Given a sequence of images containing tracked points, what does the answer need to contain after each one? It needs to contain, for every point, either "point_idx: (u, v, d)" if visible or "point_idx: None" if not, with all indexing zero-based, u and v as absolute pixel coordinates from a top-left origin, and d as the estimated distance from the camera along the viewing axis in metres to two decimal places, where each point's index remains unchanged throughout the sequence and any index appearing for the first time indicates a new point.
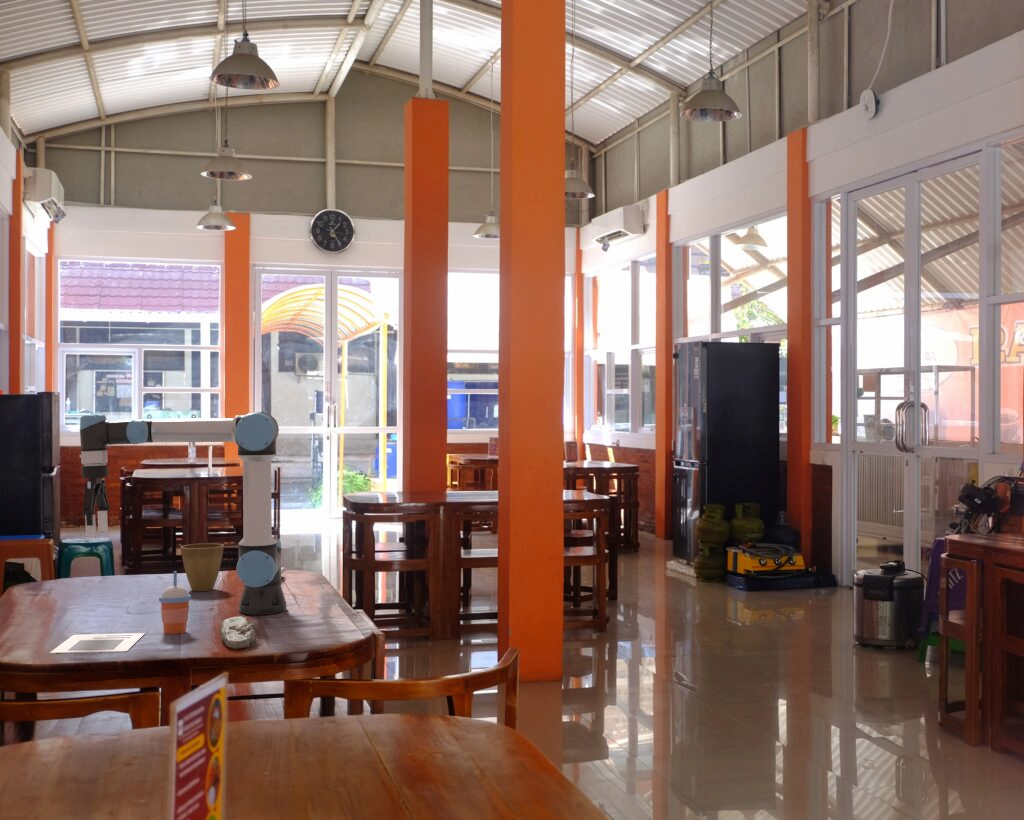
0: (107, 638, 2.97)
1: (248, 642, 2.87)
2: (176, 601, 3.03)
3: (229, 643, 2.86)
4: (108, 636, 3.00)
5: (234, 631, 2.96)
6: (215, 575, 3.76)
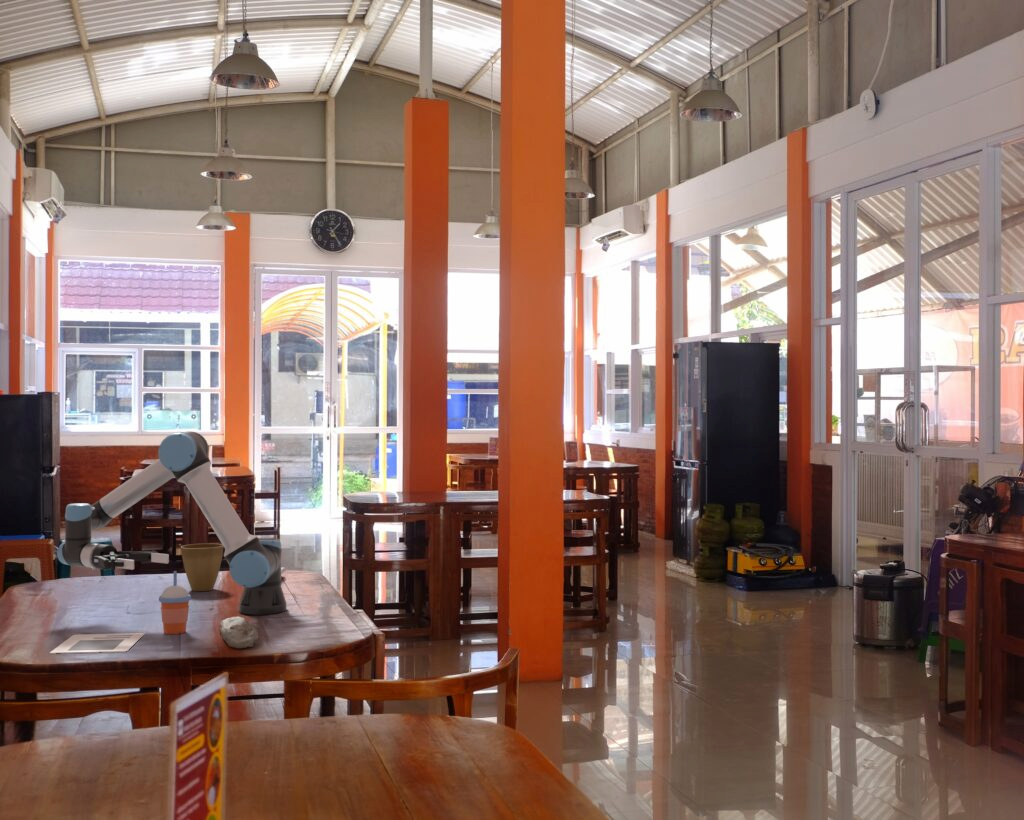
0: (107, 638, 2.97)
1: (252, 642, 2.87)
2: (176, 601, 3.03)
3: (233, 643, 2.86)
4: (108, 636, 3.00)
5: (236, 631, 2.96)
6: (215, 575, 3.76)
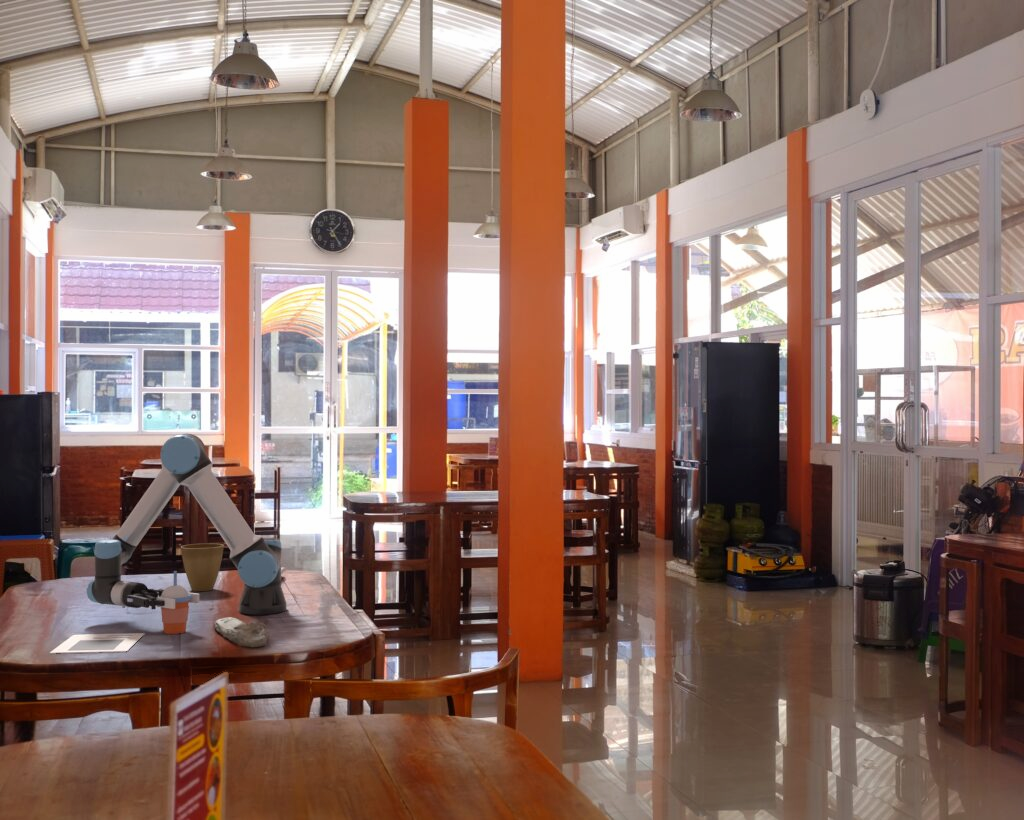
0: (107, 638, 2.97)
1: (265, 640, 2.89)
2: (176, 601, 3.03)
3: (247, 642, 2.87)
4: (108, 636, 3.00)
5: (242, 631, 2.96)
6: (215, 575, 3.76)
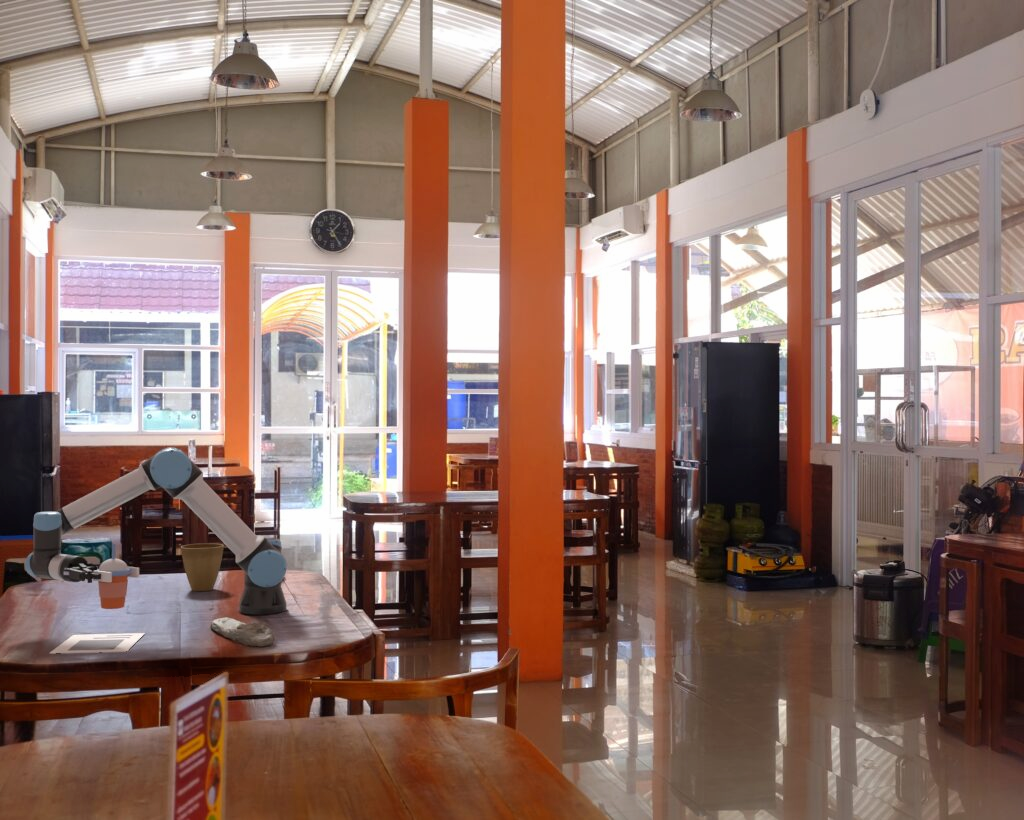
0: (107, 638, 2.97)
1: (272, 639, 2.91)
2: (113, 574, 2.91)
3: (254, 642, 2.88)
4: (108, 636, 3.00)
5: (246, 630, 2.97)
6: (215, 575, 3.76)
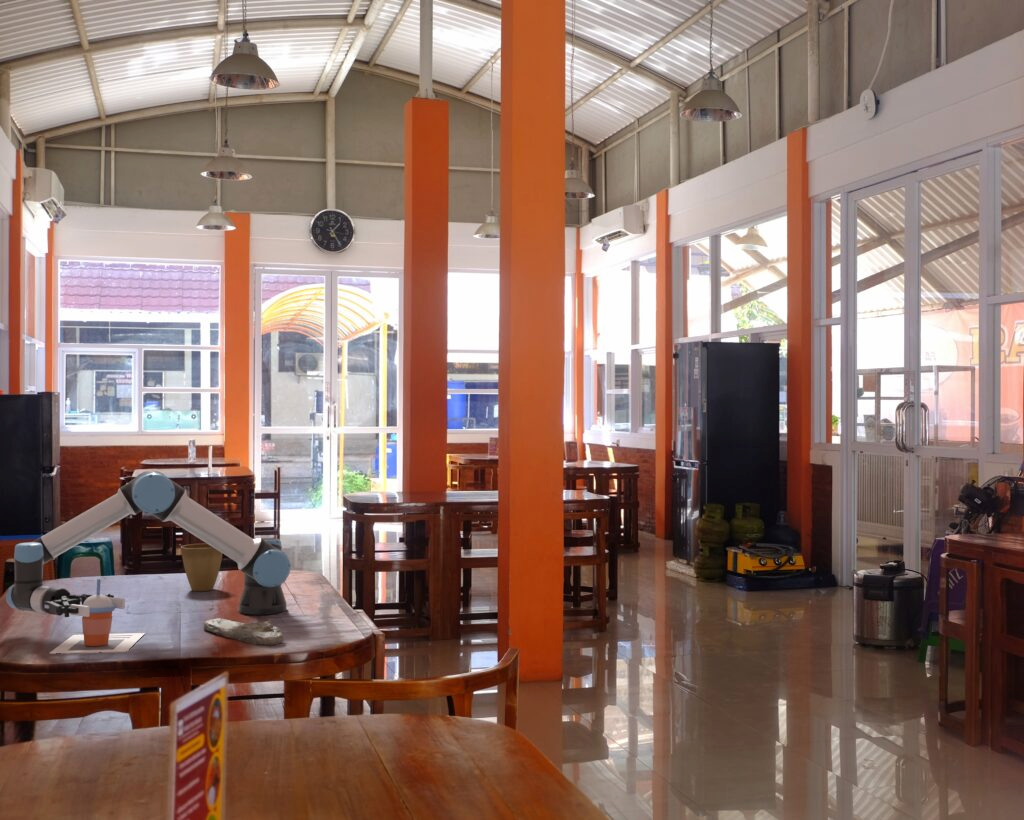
0: None
1: (283, 637, 2.93)
2: (98, 611, 2.86)
3: (266, 640, 2.90)
4: None
5: (252, 630, 2.98)
6: (215, 575, 3.76)
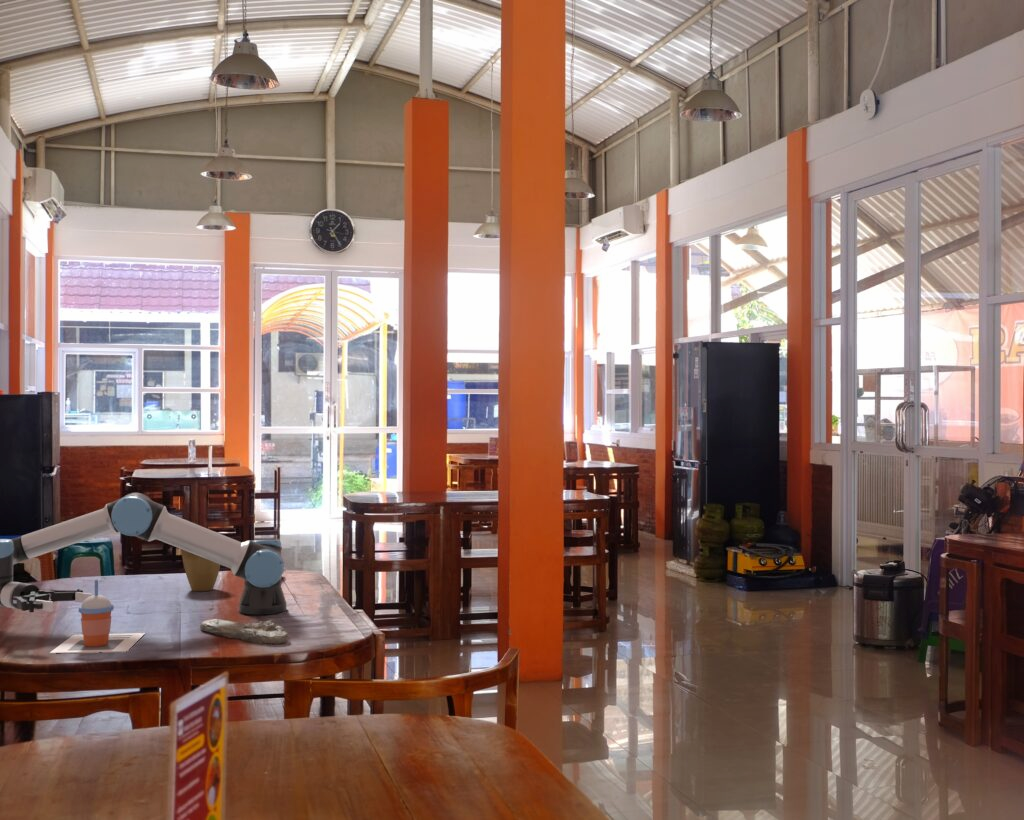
0: None
1: (288, 636, 2.95)
2: (96, 612, 2.85)
3: (273, 639, 2.92)
4: None
5: (255, 629, 2.98)
6: (215, 575, 3.76)
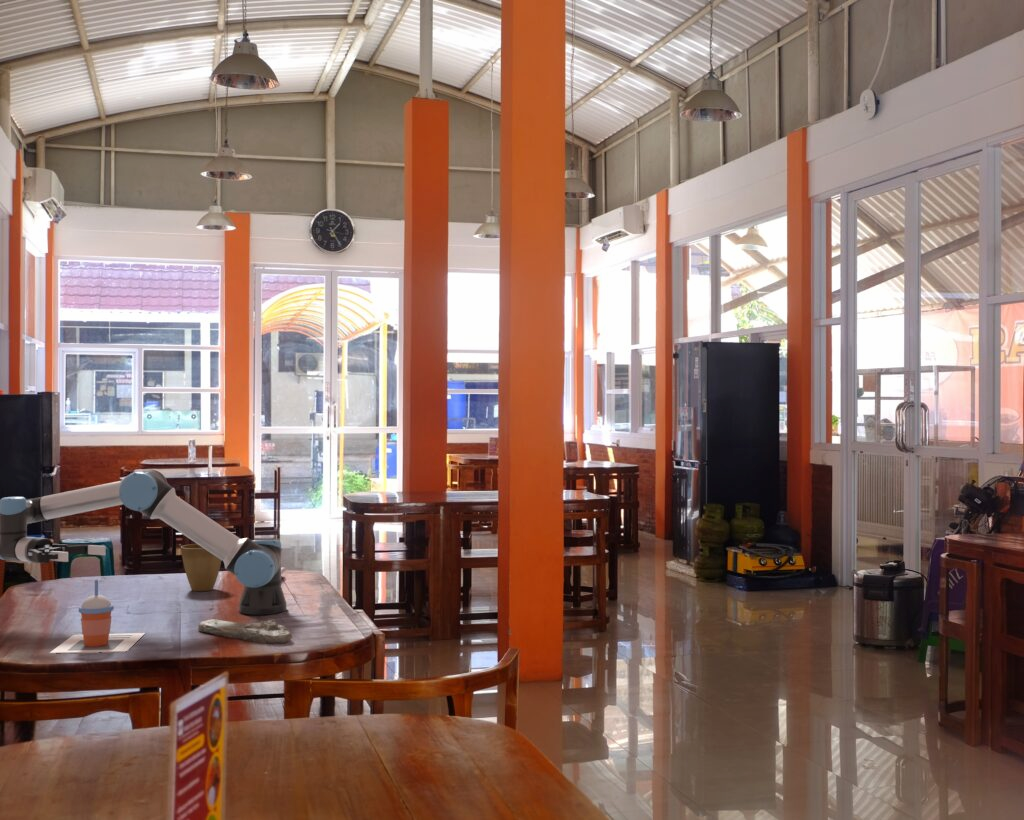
0: None
1: None
2: (96, 612, 2.85)
3: (276, 638, 2.92)
4: None
5: (257, 629, 2.99)
6: (215, 575, 3.76)
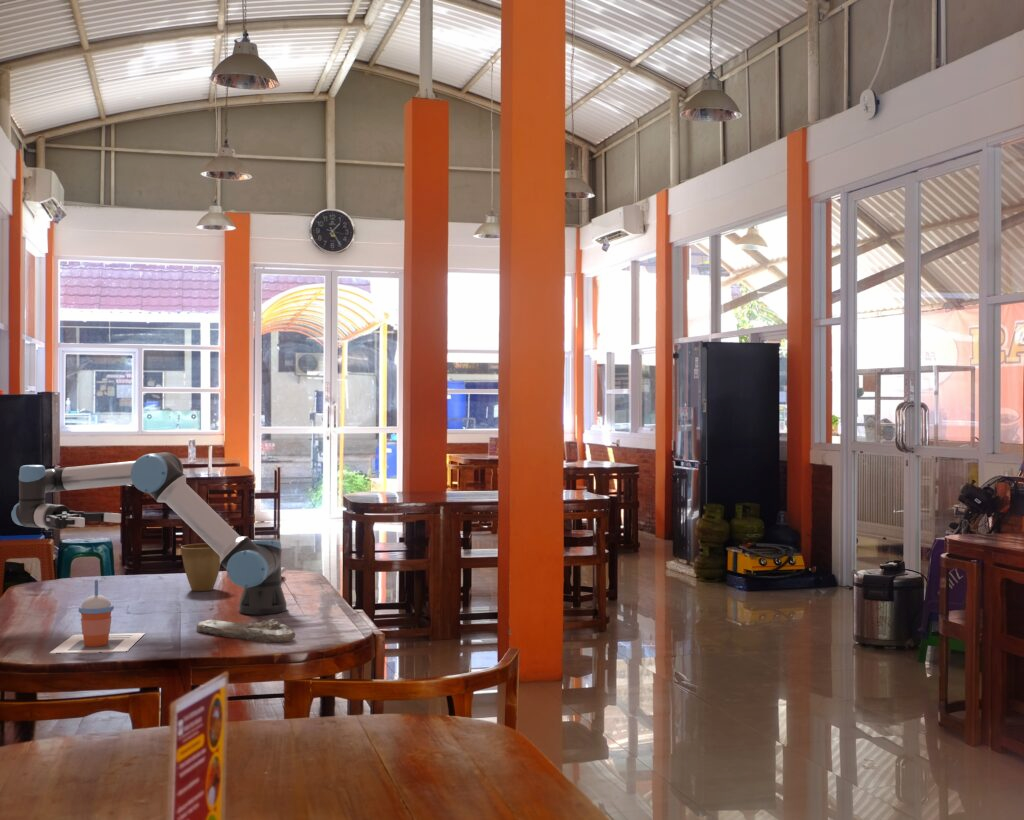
0: None
1: None
2: (96, 612, 2.85)
3: (280, 637, 2.94)
4: None
5: (259, 628, 2.99)
6: (215, 575, 3.76)
